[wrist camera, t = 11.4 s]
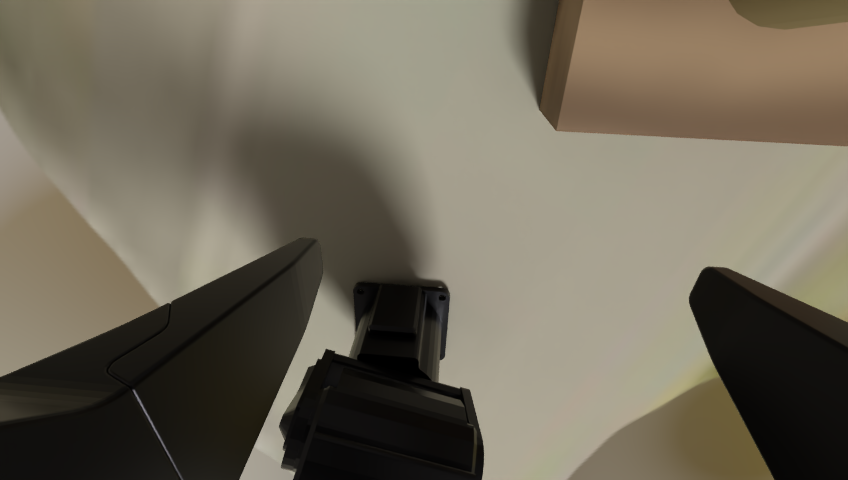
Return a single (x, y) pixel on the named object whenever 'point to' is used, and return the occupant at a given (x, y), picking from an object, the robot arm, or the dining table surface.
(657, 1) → the walnut base
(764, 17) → the olive-brown rounded piece
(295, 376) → the dining table surface
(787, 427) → the robot arm
